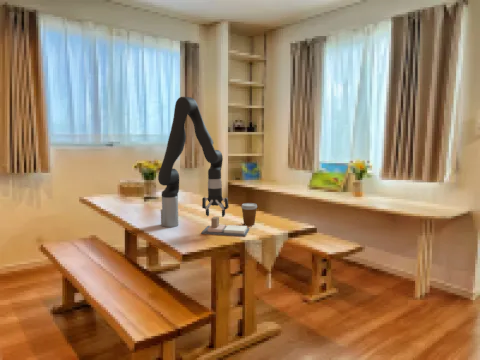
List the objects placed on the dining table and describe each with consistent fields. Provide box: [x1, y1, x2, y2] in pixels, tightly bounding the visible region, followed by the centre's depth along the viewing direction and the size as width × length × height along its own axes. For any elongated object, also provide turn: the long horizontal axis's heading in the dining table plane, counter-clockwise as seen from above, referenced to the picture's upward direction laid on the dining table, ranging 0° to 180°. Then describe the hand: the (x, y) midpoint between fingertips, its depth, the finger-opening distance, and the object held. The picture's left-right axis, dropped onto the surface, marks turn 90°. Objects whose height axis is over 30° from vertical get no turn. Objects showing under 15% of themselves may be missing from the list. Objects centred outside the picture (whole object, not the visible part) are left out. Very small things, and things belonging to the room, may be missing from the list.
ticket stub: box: [208, 216, 227, 232], centre depth 194 cm, size 8×10×6 cm
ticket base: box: [200, 224, 250, 237], centre depth 193 cm, size 24×13×2 cm, turn 79°
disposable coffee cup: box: [241, 202, 258, 227], centre depth 208 cm, size 10×10×12 cm
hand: (215, 216), depth 193 cm, fingers open, 8 cm apart
